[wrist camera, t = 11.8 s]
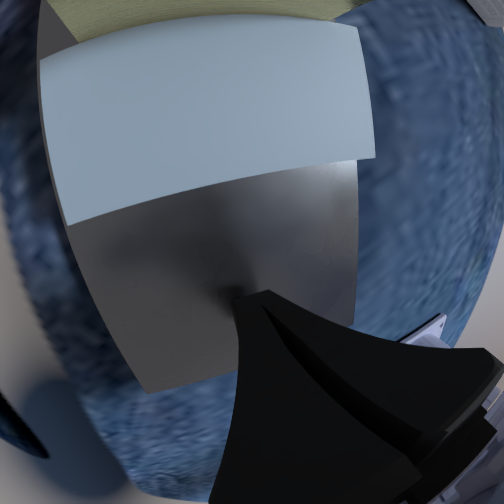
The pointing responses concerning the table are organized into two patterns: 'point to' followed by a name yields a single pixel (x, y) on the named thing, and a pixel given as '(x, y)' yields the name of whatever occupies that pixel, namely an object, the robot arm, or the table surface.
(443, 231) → the table surface
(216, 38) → the block
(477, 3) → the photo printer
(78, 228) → the vise
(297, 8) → the brass block
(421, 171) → the table surface
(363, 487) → the robot arm
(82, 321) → the table surface
